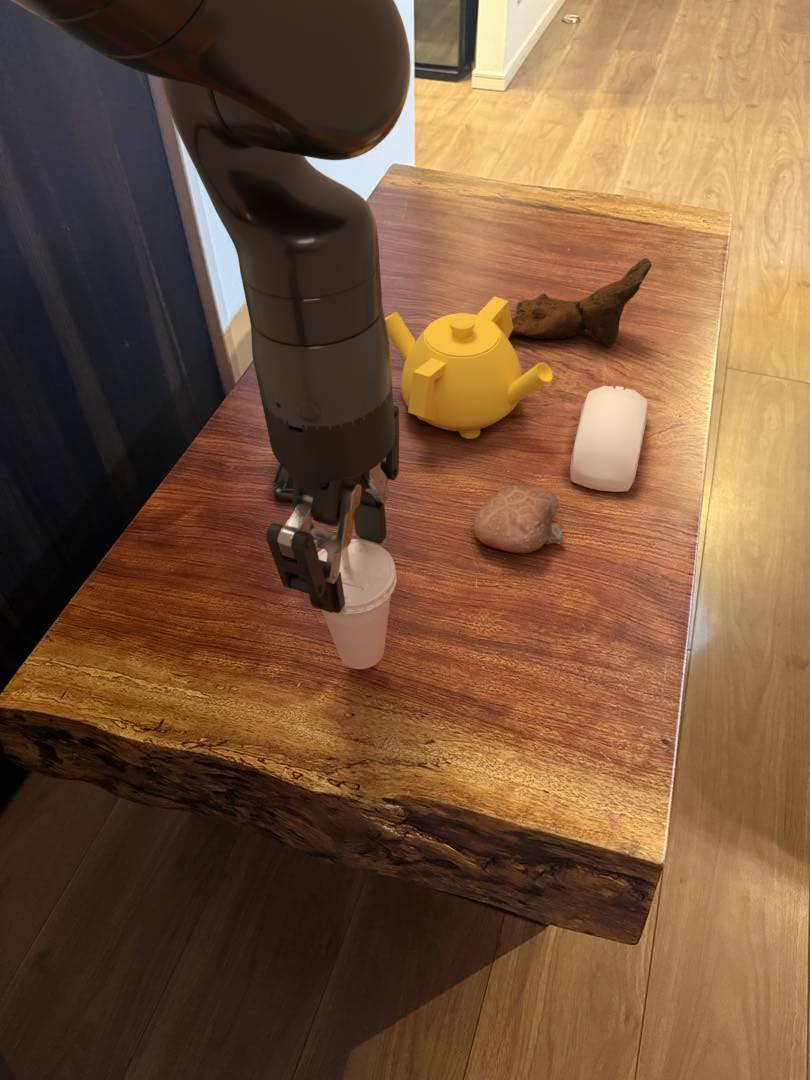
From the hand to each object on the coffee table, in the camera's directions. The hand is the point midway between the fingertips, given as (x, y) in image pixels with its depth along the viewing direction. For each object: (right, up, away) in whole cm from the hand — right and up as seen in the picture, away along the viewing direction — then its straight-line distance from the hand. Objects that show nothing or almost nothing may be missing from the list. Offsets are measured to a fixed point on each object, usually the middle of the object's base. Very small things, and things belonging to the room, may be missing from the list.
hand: (350, 570), depth 60 cm
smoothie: (0, -7, +7) cm, 10 cm away
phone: (-4, +11, +27) cm, 30 cm away
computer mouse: (+24, +11, +26) cm, 37 cm away
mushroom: (+14, +3, +19) cm, 24 cm away
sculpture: (+23, +26, +39) cm, 52 cm away
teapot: (+10, +16, +31) cm, 37 cm away
